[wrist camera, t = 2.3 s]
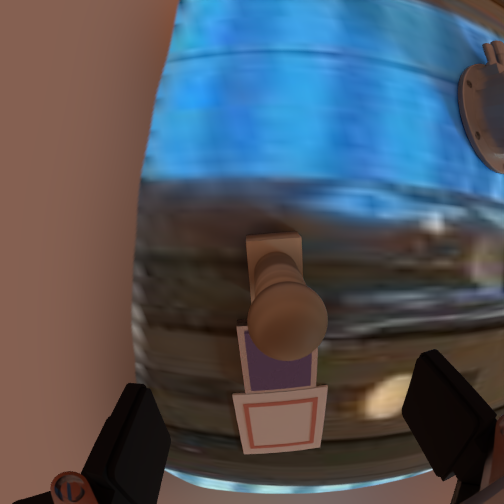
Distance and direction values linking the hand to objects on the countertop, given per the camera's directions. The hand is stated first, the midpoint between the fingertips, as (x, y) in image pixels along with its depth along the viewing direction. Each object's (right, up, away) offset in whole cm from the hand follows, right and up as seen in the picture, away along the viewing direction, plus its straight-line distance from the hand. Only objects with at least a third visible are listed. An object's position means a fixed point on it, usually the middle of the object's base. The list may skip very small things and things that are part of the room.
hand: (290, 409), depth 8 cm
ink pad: (+1, -4, +17) cm, 18 cm away
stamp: (+1, +4, +15) cm, 16 cm away
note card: (+2, -15, +20) cm, 25 cm away
